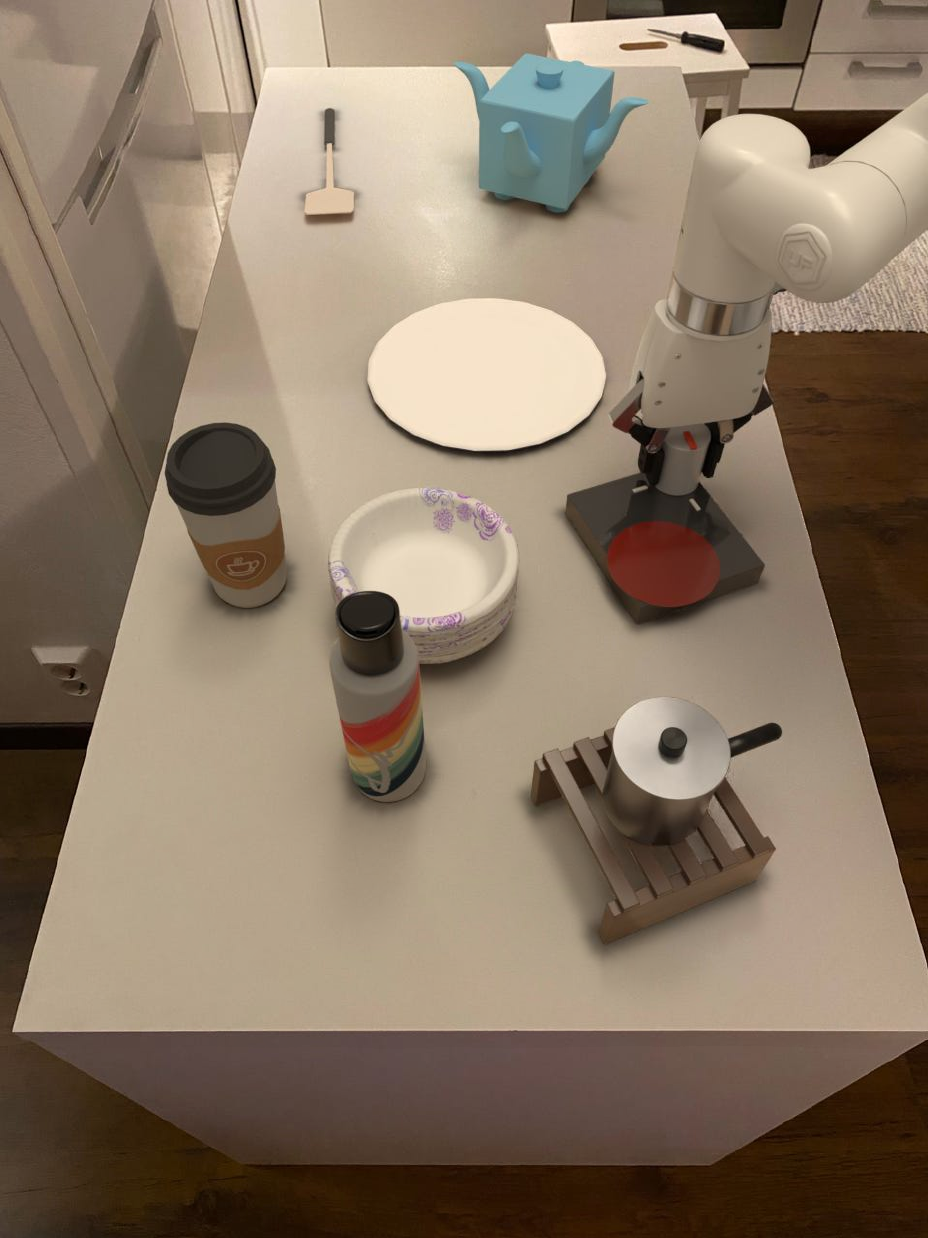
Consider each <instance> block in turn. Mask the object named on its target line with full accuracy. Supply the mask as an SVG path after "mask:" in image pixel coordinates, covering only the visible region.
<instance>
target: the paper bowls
mask: <svg viewBox="0 0 928 1238" xmlns="http://www.w3.org/2000/svg"><path fill="white" fill-rule="evenodd" d="M329 547H330V548H329V552H328V557H327V558H328V559H327V561H328V562H327V566H328V576H329V578H330V579H329V580H330V581H329V582H330V583H329V584H330V588H331V594H332V600H333V605H334V607H335V609H336V608H337V606H338V604H339V603H340V601H341V600H342V599H344V598H345V597H346V596H348V595H351V594H353V593H357V592H361V591H379V592H383V593H386V594H388V595H390V596H392V597H393V598H394V599H395V600H396V601H397V603H398V606H399V610H400V618H401V627H402V630H404V631H405V632H406V633H407V634H408V635H409V636H410V637H411V638H412V639H413V641H414V643H415V645H416V648H417V651H418V657H419V665H420V664H424V665H425V664H427V665H428V664H443V663H449V662H452V661H453V662H454V661H456V660H459V659H461V658H462V659H463V658H466V657H467V656H468V657H469V656H470V655H473V654H474V653H476V652H478V651H479V650H482V649H484V648H485V647H487V646H488V645H489V644H490V643H492V642H493V641H494V640H495V639H496V638H497V637H498V636H499V635H500V634H501V633H502V632H503V631H504V629H505V628H506V626H507V624H508V623H510V622H509V621H510V620H511V618H512V616H513V613H514V611H515V606H516V604H517V598H518V581H519V570H520V550H519V544H518V541H517V539H516V537H515V535H514V532H513V531H512V529H511V528H510V526H509V525H508V523H507V522H506V521H505V520H504V518H503V517H502V516H500V515H499V513H498V512H497V511H496V510H494V509H493V508H491V507H490V506H489V505H487V504H485V503H484V502H483V501H480V500H479V499H476V498H474V497H472V496H470V495H468V494H465V493H462V492H458V491H456V490H450V489H445V488H438V487H413V488H404V489H399V490H394V491H391V492H390V491H389V492H388V493H385V494H382V495H379V496H377V497H375V498H371V500H368V501H366V502H365V503H363V504H362V505H361V506H358V507H357V508H356V509H355V510H353V511H352V513H350V514H349V515H348V516H347V517H346V518H345V519H344V521H342V523H341V524H340V526H339V527H338V528H337V530H336V532H335V534H334V535H333V538H332V540H331V544H330V546H329Z"/></svg>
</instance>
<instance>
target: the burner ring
mask: <svg viewBox="0 0 928 1238" xmlns="http://www.w3.org/2000/svg"><path fill="white" fill-rule="evenodd" d="M607 566H608V570H609V572H610V575H611V576H612V578H613V580H614V581H615V583H616V584H617V585H618V586H619V587H620V588H621V589H622V590H623V591H624V592H626V593H627V594H628V595H630V596H632V597H633V598H635V599H637V600H639V601H641V602H644V603H647V604H650V605H654V606H660V607H680V606H686V605H689V604H693V603H695V602H697V601H699V600H701V599H703V598H704V597H706V596H707V595H708V594H709V593H710V592H711V591H712V590H713V589H714V587H715V586H716V584H717V582H718V579H719V575H720V563H719V559H718V556H717V554H716V552H715V550H714V549H713V547H712V546H711V545H710V544H709V542H708V541H707V540H706V539H704V538H703V537H702V536H701V535H699V534H698V533H697V532H695V531H693V530H691V529H689V528H687V527H685V526H682V525H679V524H675V523H671V522H664V521H649V522H642V523H639V524H635V525H633V526H630V527H628V528H626V529H624V530H623V531H622V532H620V533H619V534H618V535H617V536H616V537H615V538H614V539H613V541H612V542H611V544H610V546H609V549H608V552H607Z"/></svg>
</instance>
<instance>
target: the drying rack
mask: <svg viewBox="0 0 928 1238" xmlns="http://www.w3.org/2000/svg"><path fill="white" fill-rule="evenodd" d="M614 728H615V726H614V727H610V728H608V729H605V730H604V731H603V734H602V735H601V736H598V737H594V738H590V737H589V736H587V737H583V738H582V739H578V740H576V741H574V742H573V745H572V746H570V747H568V748H565V749H562V750H560V749H559V748H554V749H552V750H549V751H546V752H544V753H542V757H541V758H537V759H536V760H534V763H533V771H532V780H531V787H530V798H531V800H532V802H533V804H534V806H535V807H539V806H541V805H544V804H547V803H548V802H551V801H554V800H556V799H559V798H563V800H564V803H565V804H566V806H567V808H568V810H569V812H570V814H571V816H572V819H573V820H574V822H575V824H576V826H577V828H578V830H579V831H580V833H581V835H582V837H583V839H584V841H585V843H586V845H587V847H588V849H589V850H590V852H591V855H592V857H593V858H594V860H595V862H596V864H597V866H598V868H599V870H600V872H601V874H602V876H603V878H604V880H605V882H606V884H607V886H608V888H609V890H610V891H611V893H612V895H613V897H614V899H613V900H611V901H608V902H607V903H606V904H605V908H604V911H603V915H602V918H601V921H600V924H599V927H598V930H597V933H598V935H599V938H600V939H601V942H602V943H603V945H604V946H606V945H608V944H610V943H613V942H615V941H618V940H620V939H622V938H625V937H628V936H630V935H632V934H635V933H636V932H639V931H641V930H643V929H645V928H648V927H650V926H653V925H655V924H658V923H660V922H661V921H664V920H667V919H669V918H671V917H675V916H677V915H679V914H681V913H684V912H686V911H688V910H690V909H693V908H695V907H697V906H700V905H702V904H704V903H708V902H710V901H712V900H714V899H716V898H718V897H721V896H723V895H725V894H728V893H730V892H733V891H735V890H737V889H739V888H742V887H745V886H747V885H749V884H751V883H753V882H756V881H758V878H759V877H760V875H761V874H762V872H763V870H764V869H765V868H766V866H767V864H768V863H769V861H770V860H771V859H772V857H773V855H774V853H775V852H776V851H777V847H776V846H775V844H774V843H773V841H772V840H771V838H770V837H769V836H764V835H763V834H762V832H761V831H760V829H759V827H758V826H757V824H756V823H755V821H754V819H753V818H752V817H751V815H750V813H749V812H748V810H747V809H746V807H745V806H744V804H743V803H742V801H741V800H740V798H739V796H738V794H737V793H736V792H735V790H734V789H733V787H732V786H731V783H730V782H729V780H728V779H727V778H726V777H725V778H724V780H723V781H722V782H721V784H720V785H719V786H718V787H717V788H716V790H715V792H714V794H713V796H714V798H715V799H716V801H717V802H718V804H719V806H720V807H721V809H722V810H723V812H724V814H725V816H726V817H727V818H728V820H729V822H730V823H731V825H732V826H733V828H734V830H735V832H736V833H737V834H738V836H739V838H740V839H741V841H742V843H743V844H744V845H743V846H741V847H738V848H736V849H733V850H732V848H731V846H730V844H729V843H728V841H727V839H726V838H725V836H724V834H723V833H722V832H721V829H720V828H719V827H718V825H717V823H716V822H715V820H714V818H713V817H712V815H711V813H710V812H709V810H708V809H707V810H706V812H705V814H704V816H703V818H702V821H701V823H700V824H699V826H698V828H697V829H696V831H697V833H698V834H699V836H700V838H701V840H702V842H703V843H704V844H705V846H706V848H707V849H708V852H709V853H710V854H711V856H712V858H711V859H709V860H707V861H705V862H702V863H700V861H699V860H698V858H697V855H696V854H695V853H694V850H693V849H692V848H691V845H690V844H689V842H688V841H687V838H686V839H685V840H683V841H681V842H679V843H676V844H673V845H668V846H666V848H667V849H668V850H669V852H670V855H672V858H673V859H674V861H675V863H676V865H677V866H678V868H679V870H680V872H678V873H675V874H673V875H671V876H669V877H668V875H667V874H666V871H665V870H664V869H663V867H662V865H661V863H660V862H659V859H658V858H657V856H656V854H655V852H654V851H653V849H652V847H651V845H645V844H642V843H639V842H637V841H634V840H632V839H631V838H629V837H627V836H626V835H624V834H623V833H622V832H621V831H619V833H620V834H621V837H622V838H623V840H624V842H625V844H626V846H627V848H628V850H629V852H630V853H631V855H632V857H633V859H634V861H635V862H636V864H637V867H638V869H639V870H640V872H641V874H642V875H643V877H644V879H645V881H646V883H647V885H646V886H644V887H642V888H639V889H637V890H634V888H633V886H632V885H631V883H630V881H629V879H628V877H627V875H626V873H625V871H624V869H623V867H622V866H621V864H620V862H619V860H618V858H617V856H616V855H615V853H614V850H613V849H612V846H611V845H610V843H609V841H608V839H607V838H606V835H605V834H604V831H603V829H602V828H601V826H600V824H599V822H598V820H597V819H596V817H595V815H594V813H593V811H592V809H591V808H590V806H589V803H588V802H587V800H586V798H585V797H584V794H583V792H582V790H583V789H585V788H588V787H591V786H593V785H594V787H595V790H596V791H597V793H598V795H599V797H600V798H601V800H602V801H603V786H604V782H605V778H606V774H607V770H608V766H609V761H610V757H611V753H612V736H613V732H614Z"/></svg>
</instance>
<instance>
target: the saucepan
mask: <svg viewBox="0 0 928 1238" xmlns="http://www.w3.org/2000/svg"><path fill="white" fill-rule="evenodd" d="M614 727H615V728H614ZM614 727H613V728H614V732H613V736H612V753H611V757H610V761H609V766H608V770H607V774H606V778H605V782H604V786H603V800H602V803H603V807H604V811H605V813H606V815H607V817H608V819H609V820H610V822H611V823H612V824H613V825H614V827H615V828H616V829H617V830H618V831H619V832H620V831H621V832H622V833H623V834H624V835H626V836H627V837H629V838H631V839H632V840H634V841H637V842H639V843H642V844H645V845H650V847H651V846H652V847H667V846H668V845H673V844H676V843H679V842H681V841H683V840H685V839H686V840H687V839H688V838H689V837H691V836H692V835H693V834H694V833H695V832H696V831H697V828H698V826H699V824H700V823H701V821H702V818H703V816H704V814H705V812H706V810H708V807H709V806H710V803H711V801H712V800H713V796H714V792H715V790H716V788H717V787H718V786H719V785H720V784H721V782H722V781H723V780H724V778H726V776H727V774H728V771H729V769H730V765H731V760H732V758H735V757H738V756H740V755H742V754H745V753H747V752H750V751H752V750H756V749H757V748H760V747H763V746H765V745H768V744H770V743H773V742H775V741H779V739H781V737H782V735H783V729H782V726H780V724H778V723H777V722H768V723H766V724H763V725H760V726H758V727H755V728H753V729H750V730H748V731H746V732H745V731H744V732H742V733H740V734H737V735H734V736H732V737H729V738H728V736H727V733H726V731H725V730H724V727H723V726H722V725H721V723H720V722H719V721H718V720H717V719H716V717H714V715H712V714H711V713H710V712H709V711H708V710H706V709H705V708H703V707H702V706H701V705H698V704H696V703H695V702H691V701H689V700H687V699H683V698H679V697H673V696H655V697H649V698H646V699H643V700H640V701H638V702H636V703H634V704H633V705H631V706H629V707H628V708H627V709H625V710H624V712H623V713H622V714H621V715H620V716H619V718H618V719H617V721H616V724H615V726H614Z"/></svg>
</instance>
